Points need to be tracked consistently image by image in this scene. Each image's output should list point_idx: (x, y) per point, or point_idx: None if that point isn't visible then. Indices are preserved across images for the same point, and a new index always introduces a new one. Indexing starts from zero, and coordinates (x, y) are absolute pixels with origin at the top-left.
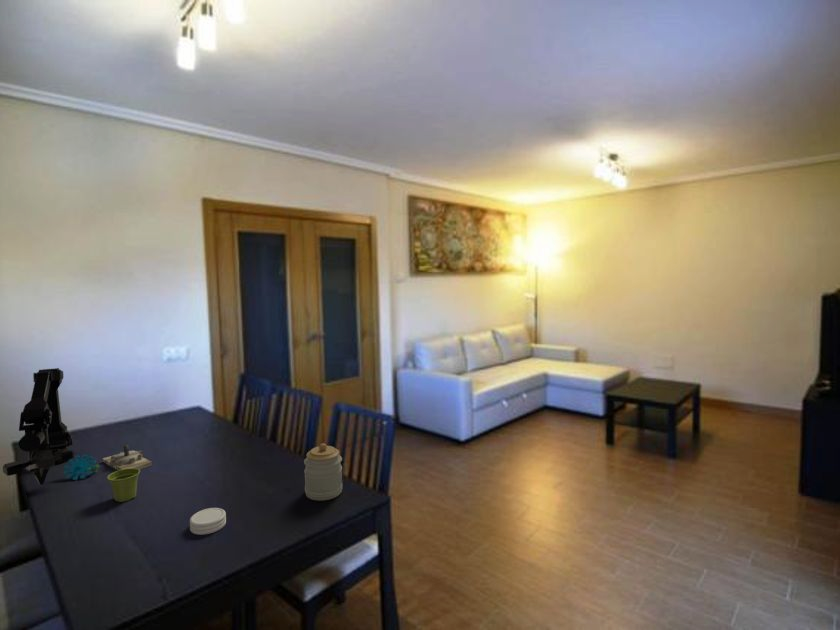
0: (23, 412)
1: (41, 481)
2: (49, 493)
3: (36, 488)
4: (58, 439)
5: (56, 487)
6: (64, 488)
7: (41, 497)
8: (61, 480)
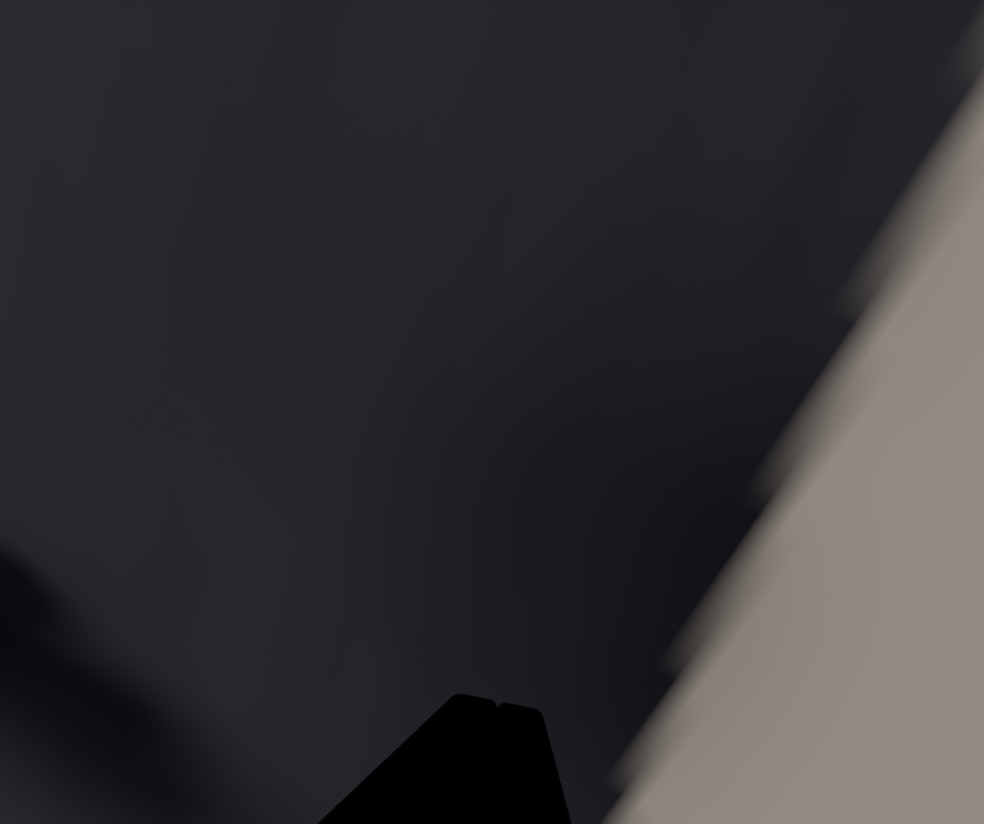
0: None
1: (483, 791)
2: (507, 147)
3: None
4: None
5: (229, 432)
6: (92, 123)
7: (819, 20)
8: (53, 725)
